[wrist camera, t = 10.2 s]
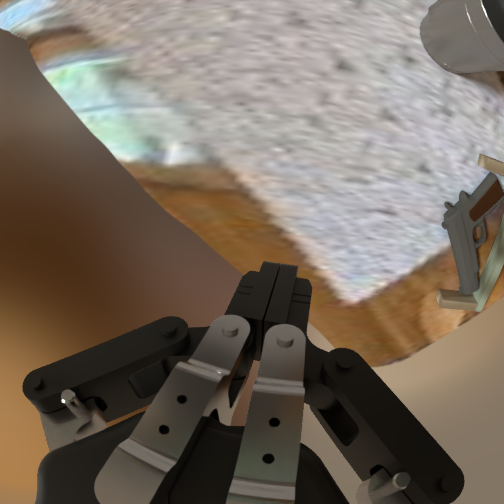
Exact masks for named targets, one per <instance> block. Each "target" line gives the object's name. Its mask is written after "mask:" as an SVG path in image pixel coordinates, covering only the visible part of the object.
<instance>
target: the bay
mask: <svg viewBox="0 0 504 504" xmlns="http://www.w3.org/2000/svg"><path fill="white" fill-rule="evenodd" d="M478 165H480V166H482V167H483V168H485V169H487V170H489V171H492V172H495V173H498V174H500V175H503V176H504V163H503V162H501V161H498V160H496V159H493V158H491V157H488V156H485V155H482V154H479V159H478ZM503 265H504V214H503V218H502V221H501V224H500V227H499V230H498V233H497V236H496V239H495V241H494V244H493V247H492V249H491V252H490V255H489V257H488V260H487V262H486V264H485V267H484V269H483V271H482V274H481V276H480V278H479V280H478V282H479V289H478V290H477V291H476V292H474V293H472V294H470V295H464V294H463V293H462V292H461V293H459V291H452V290H444V289H438V292H437V294H436V296H435V297H436V299H437V302H438V304H439V307H440V308H447V309H458V310H468V311H480V312H481V310H482V308H483V306H484V304H485V302H486V300H487V299H488V297H489V295H490V293H491V291H492V289H493V287H494V285H495V282H496V280H497V278H498V276H499V274H500V272H501V269H502V267H503Z"/></svg>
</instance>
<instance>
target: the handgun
mask: <svg viewBox="0 0 504 504" xmlns="http://www.w3.org/2000/svg"><path fill="white" fill-rule="evenodd" d="M502 200H504V193H503V191H502V189H501V187H500V184H499V182H498V180H497V178H496V177H495V176H494V174H492V173H491V172H490V173H489V174H488V175H487V176H486V178H485V179H484V180H483V181H482V183H481V184H480V185H479V186H478V187H477V188H476V190H475V191H474V192H473V193H472V194H471V195H467V194H466V193H465V192H464V191H461V192H460V194H459V201H458V202H457V203H456V204H455V205H453V206H449V205H448V203H447V202H445V207H446V208H447V209H448V211H447V212H446V213H445V214H444V222H443V223H442V227H443V228H444V229H447V231H448V235H449V238H450V242H451V246H452V250H453V254H454V258H455V262H456V266H457V271H458V275H459V280H460V286H461V287H459V293H461V292H462V293H463V294H464V295H470V294H472V293H474V292H476V291H477V290H478V289H479V282H478V275H477V271H479V264H478V258H477V252H476V249H477V248H478V247H479V246H480V245H482V244H483V243H484V242H485V240H486V231H485V226H484V221H483V217H484V216H485V215H486V214H487V213H489V212H490V211H491V210H492V209H493V208H494V207H495V206H496V205H497V204H498V203H500V202H501V201H502ZM477 226H481V231H482V235H481V237H480V239H479V240H477V241H475V240H474V237H473V229H474V228H475V227H477Z"/></svg>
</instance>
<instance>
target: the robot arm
mask: <svg viewBox="0 0 504 504" xmlns="http://www.w3.org/2000/svg"><path fill="white" fill-rule="evenodd" d="M420 35H421V40H422V43H423V45H424V47H425V49H426V51H427V52H428V54H429V55H430V56H431V58H432V59H433V60H434V61H435V62H436V63H437V64H438V65H440V66H441V67H443V68H444V69H446V70H448V71H450V72H453V73H459V74H464V73H465V74H466V73H476V72H490V71H504V0H438V1H436V2H435V3H434V4H433V5H431V6H430V7H429V13H428V15H427V16H426V17H424V19H423V20H422V22H421V26H420ZM297 272H298V266H294V265H287V264H280V263H273V262H266V261H264V262H263V264H262V266H261V269H260V271H259V272H256V271H249V272H248V273H247V274H245V275H244V276H243V277H242V279H241V281H240V283H239V286H238V287H237V289H236V292H235V293H234V296H233V298H232V300H231V302H230V304H229V306H228V309H227V310H226V313H225V315H224V316H221V317H219V318H217V319H216V320H215V321H214V322H213V323H212V325H211V326H208V327H194V328H188V325H187V323H186V322H185V321H184V320H183V319H181V318H179V317H174V316H169V317H164V318H161V319H159V320H157V321H154V322H152V323H150V324H147V325H145V326H143V327H140V328H138V329H135V330H133V331H130V332H128V333H126V334H123V335H121V336H118V337H116V338H114V339H111V340H109V341H107V342H104V343H101V344H99V345H97V346H94V347H92V348H89V349H87V350H84V351H82V352H79V353H77V354H74V355H72V356H69V357H67V358H64V359H61V360H59V361H57V362H54V363H51V364H49V365H46V366H43V367H41V368H38V369H36V370H33V371H32V372H30V373H29V374H28V375H27V376H26V378H25V379H24V382H23V392H24V394H25V396H26V397H27V398H28V399H29V400H30V401H31V403H32V404H33V405H35V407H36V408H37V410H38V411H39V412H40V416H41V420H42V425H43V429H44V432H45V436H46V440H47V444H48V447H49V450H50V452H49V453H48V454H47V455H46V456H45V457H44V458H43V460H42V461H41V463H40V466H39V468H38V474H37V497H36V503H35V504H349V502H348V501H347V499H346V498H345V496H344V495H343V493H342V492H341V490H340V488H339V487H338V485H337V484H336V482H335V481H334V479H333V478H332V476H331V475H330V473H329V472H328V470H327V468H326V467H325V465H324V464H323V462H322V461H321V459H320V458H319V457H318V456H317V455H316V453H314V452H313V451H312V450H311V449H310V448H308V447H307V446H306V445H304V444H302V443H300V441H301V432H302V420H303V409H304V403H306V404H309V405H310V409H311V411H312V412H313V414H314V415H315V416H316V418H317V419H318V420H319V422H320V424H321V425H322V426H323V428H324V429H325V431H326V432H327V434H328V435H329V436H330V438H331V439H332V441H333V442H334V443H335V445H336V446H337V447H338V449H339V450H340V452H341V453H342V454H343V456H344V457H345V458H346V460H347V461H348V463H349V464H350V465H351V467H352V468H353V469H354V471H355V472H356V473H357V475H358V476H359V477H360V479H361V480H362V481H363V482H362V483H361V484H360V486H359V487H358V489H357V493H356V499H357V502H358V504H450V503H452V502H453V501H455V500H456V499H457V498H458V497H459V495H460V494H461V492H462V490H463V487H464V475H463V473H462V471H461V469H460V468H459V467H458V466H457V465H456V463H455V462H454V461H453V460H452V459H451V458H450V456H449V455H448V454H447V453H446V452H445V451H444V450H443V448H442V447H441V446H440V445H439V444H438V443H437V442H436V440H435V439H434V438H433V437H432V436H431V435H430V434H429V433H428V431H427V430H426V429H425V428H424V427H423V426H422V425H421V423H420V422H419V421H418V420H417V419H416V418H415V417H414V415H413V414H412V413H411V412H410V411H409V410H408V409H407V407H406V406H405V405H404V404H403V403H402V402H401V401H400V400H399V398H398V397H397V396H396V395H395V394H394V393H393V392H392V391H391V390H390V388H389V387H388V386H387V385H386V384H385V383H384V382H383V381H382V379H381V378H380V377H379V376H378V375H377V374H376V373H375V372H374V370H373V369H372V368H371V367H370V366H369V365H368V364H367V363H366V362H365V360H364V359H363V358H362V357H361V356H360V355H359V354H358V353H356V352H355V351H353V350H351V349H347V348H337V349H334V350H331V351H330V352H327V351H324V350H322V349H320V348H318V347H316V346H315V345H313V344H312V343H311V342H310V340H309V339H308V336H307V333H306V332H307V324H308V317H309V309H310V302H311V294H312V286H311V284H310V282H309V280H308V279H303V278H297ZM253 360H257V361H260V366H259V370H258V376H257V380H256V381H255V383H254V388H253V392H252V396H251V401H250V406H249V410H248V415H247V420H246V424H245V426H230V424H231V419H232V415H233V412H234V410H235V407H236V405H237V403H238V401H239V398H240V396H241V394H242V391H243V389H244V387H245V384H246V382H247V380H248V377H249V374H250V369H251V367H252V363H253ZM159 361H160V362H159ZM152 364H153V365H152ZM150 365H151V366H150ZM148 366H149V367H148ZM141 369H142V370H141ZM139 370H140V371H139ZM149 404H150V406H149V408H148V409H147V411H144V412H141V413H139V414H136V415H134V416H132V417H130V418H128V419H126V420H124V421H121V422H119V423H117V424H115V425H113V426H110V427H108V428H106V426H107V423H108V422H110V421H112V420H115V419H117V418H119V417H122V416H124V415H127V414H129V413H131V412H133V411H136V410H138V409H140V408H143V407H145V406H147V405H149ZM105 428H106V429H105Z"/></svg>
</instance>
